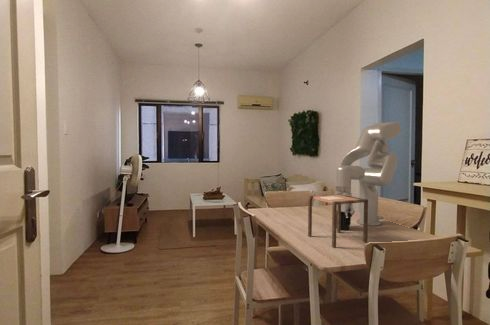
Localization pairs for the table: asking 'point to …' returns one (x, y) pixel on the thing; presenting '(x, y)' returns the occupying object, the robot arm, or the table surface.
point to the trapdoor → (334, 198)
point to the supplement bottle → (343, 222)
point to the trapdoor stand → (339, 217)
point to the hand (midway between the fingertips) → (342, 222)
